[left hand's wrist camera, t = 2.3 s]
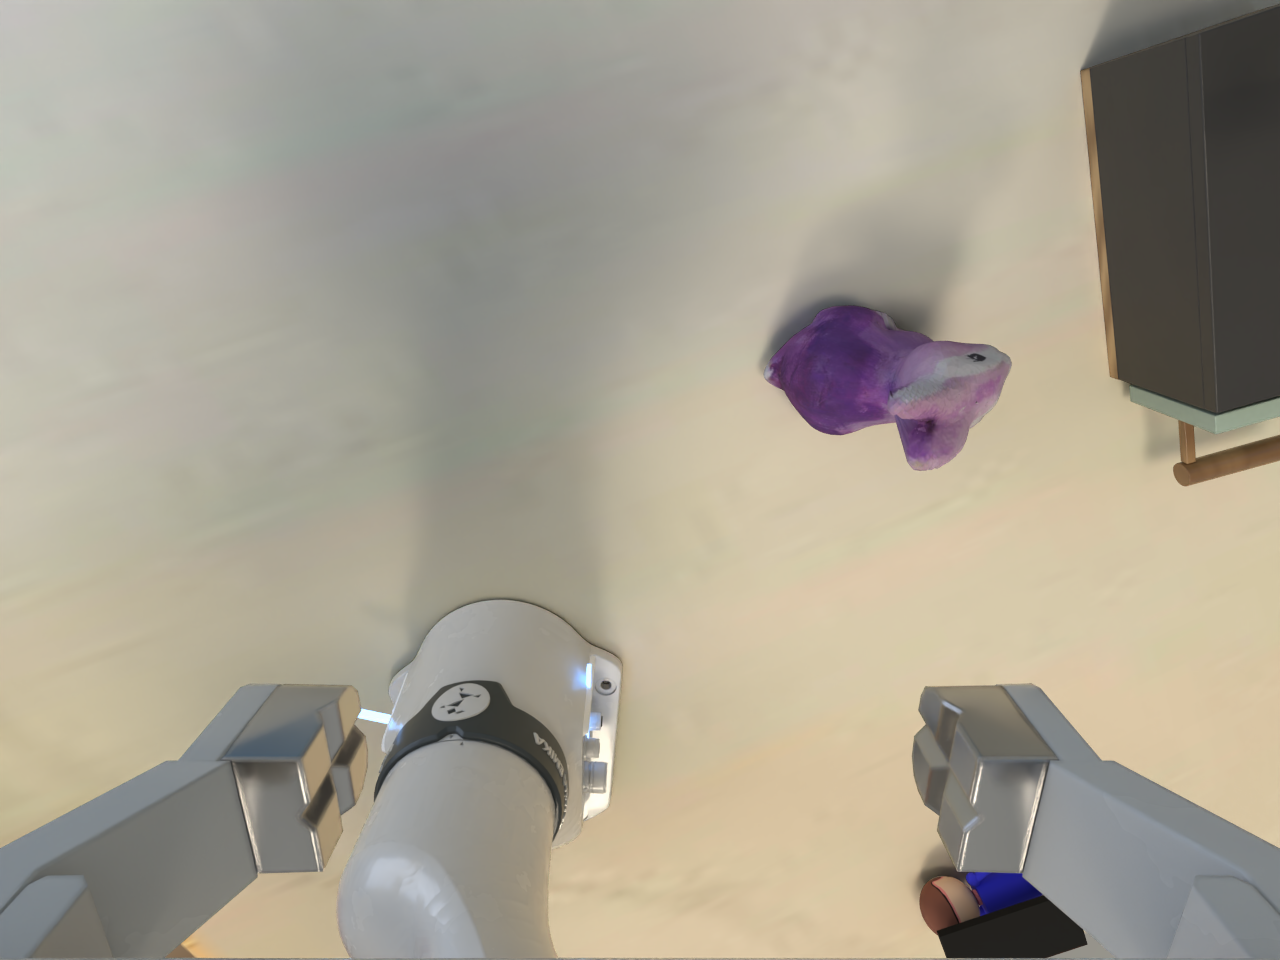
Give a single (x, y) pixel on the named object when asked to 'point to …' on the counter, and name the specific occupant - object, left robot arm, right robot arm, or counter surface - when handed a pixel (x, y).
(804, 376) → the figurine
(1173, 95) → the cabinet
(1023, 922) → the black wheeled block
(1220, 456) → the drawer
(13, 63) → the counter surface
